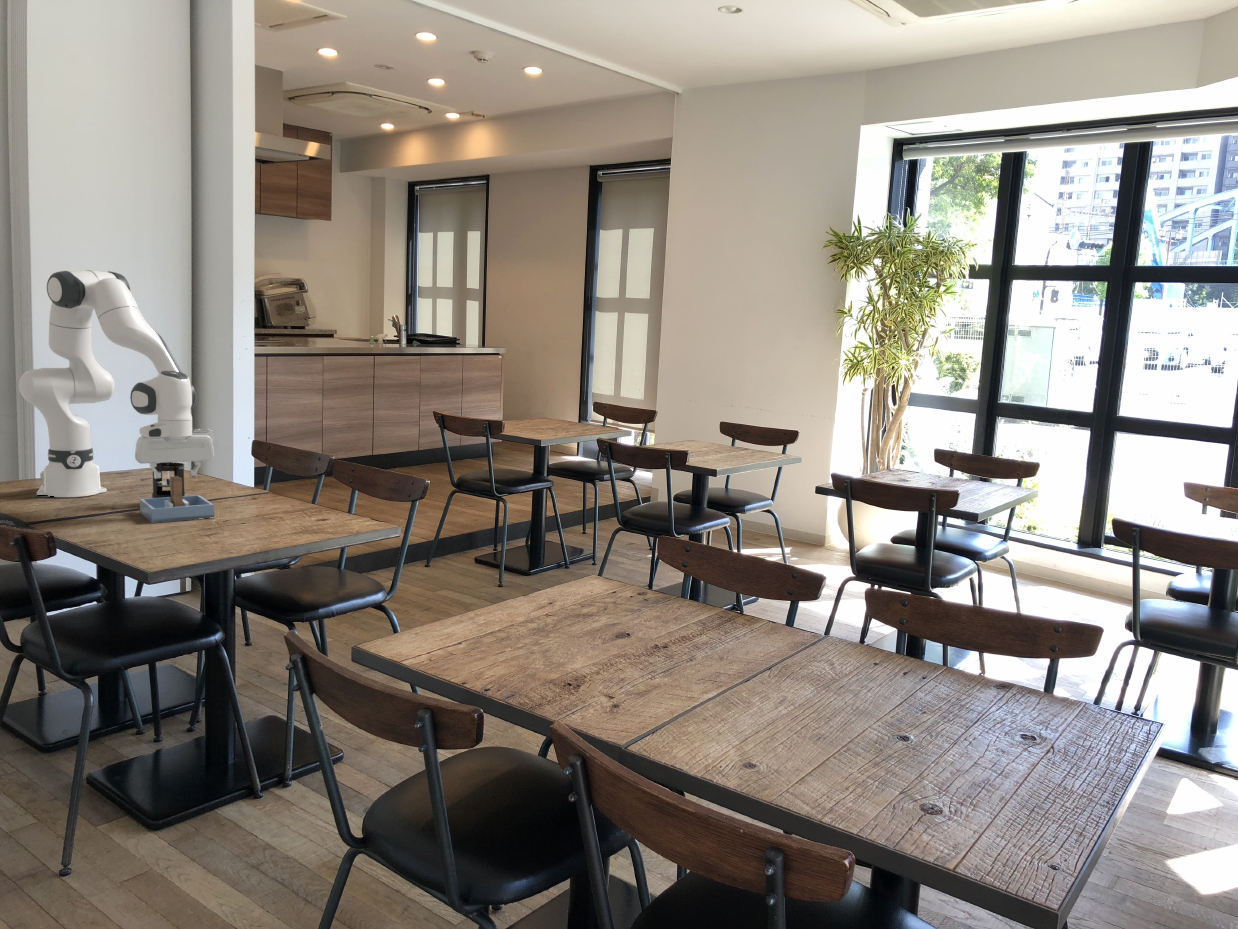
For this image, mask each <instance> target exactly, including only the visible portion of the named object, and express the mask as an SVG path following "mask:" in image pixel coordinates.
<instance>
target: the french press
mask: <svg viewBox="0 0 1238 929" xmlns="http://www.w3.org/2000/svg"><path fill="white" fill-rule="evenodd" d="M150 469H151V468H150ZM155 469H156V470H157V472H161V478H160V479H155V478H154V472H153V470H152V469H151V471H152V492H151V498H162V497H171V491H170V489H169V490H168V489H167V490H163V488H170V474H169V473H170V472H173V473H174V474H173V476H178V477H180V478H182V496H186V492H185V463H183V462H166V463H157V466H156V467H155ZM163 472H167V473H166V474H167V478H166V480H163Z"/></svg>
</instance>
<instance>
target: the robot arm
mask: <svg viewBox="0 0 1238 929" xmlns="http://www.w3.org/2000/svg"><path fill="white" fill-rule="evenodd" d="M46 292H47V295H48V298H49V299H50V301H51V305H50V312H49V320H48V321H49V322H48V346H49V349H50V350H51V351H52V352H53V353H54V354H56V355H57V356H59V357H61V358H63V359H64V360H65V359H66V360H68V364H69V366H68V367H43V368H42V367H41V368H34V369H29V370H26V371H25V372H24V373H23V374H22V375H21V376H20V379H19V382H18V390H19V393H20V394H21V395H20V396H22V397H23V399H24V400H25V401H27V403H29V404H31V405H32V406H34V407H35V408H37V410H38V411H39V412H40V414H42V416H43V417H44V420H45V422H46V426H47V432H48V442H49V444H48V445H49V448H48V450H47V451H48V452H47V461H48V464H47V465H46V466H45V468H43V470H42V471H41V472H40V474H39V475H40V476H39V478H40V481H41V480H42V482H41V485H40V487H39V489H38V490H37V491H36V496H37V495H48V496H47V497H50V496H54V497H53V498H80V497H88V496H94V495H97V494H101V493H106V492H108V491H107V488H106V487H103V486H101V476H100V474H101V473H100V467H99V465H98V464H96V463H95V462H94V449H93V447H92V437H91V436H92V435H91V434H92V433H91V431H92V430H91V426H90V423H89V421H88V420H86V419H85V418H83V417H81V416H79V415H77V414H74V413H72V411H71V410H70V407H69V406H70V405H73V404H74V405H76V404H94V403H95V404H96V403H102V402H104V401H105V402H106V401H108V400H110V399H111V398H112V397H113V395H114V393H115V389H116V384H115V380H114V377H113V376H112V374H111V373H110V372H109V371H107V370H106V369H105V368H103V367H102V366H101V365H100V364H99V363H98V361H97V359H96V358H95V355H94V351H93V341H92V339H93V338H92V335H93V334H92V332H93V312H95V314H96V317H97V320H98V322H99V325H100V328H101V330H102V332H103V334H104V336H106V338H107V339H108V340H109V341H110V342H112V343H113V344H115V345H117V346H119V347H122V348H125V349H129V350H133V351H135V352H138V353H140V354H142V355H143V356H145V357H146V358H148V359H149V360H150V361H151V363H152V364H153V366H154V367H155V369H156V371H157V372H158V374H157V376H155V377H153V378H151V379H148V380H145V381H140V382H139V381H138V382H137V383H135V385H134V386H133V387H132V389H131V390H130V397H129V398H130V404H131V406H132V407H133V410H134V411H136V412H137V413H138V414H139V415H140V414H141V415H145V416H146V415H147V416H153V415H157V422H154V423H151V424H148V425H144V426H142V427H140V428H139V434H140V436H139V437H138V438H137V440H136V442H135V443H136V444H135V452H134V454H135V455H134V458H135V460H136V462H137V463H139V464H141V465H142V464H149V467H150V469H152V470H151V471H152V473H153V472H154V478H155V479H160V478H161V472H157V470H156V469H155V467H156V466H157V463H166V462H174V463H183V462H184V463H185V462H186V463H187V462H189V463H190V462H193V463H194V464H193V465H194V467H193V468H192V469H190V470H189V475H190V477H191V478H195V477H197V476H198V471H199V469H200V467H201V466H202V462H207V461H209V462H210V461H213V460H214V458H215V451H214V450H215V449H214V441H215V433H214V431H213V430H211V429H209V428H193V416H192V410H193V409H194V407H195V405H196V403H197V397H198V396H197V395H198V394H197V391H196V389H195V387H194V385H193V384H192V383H191V380H190V377H189V376H188V375H187V374H186V373H184V372H183V370H182V369H181V368H180V367H181V366H180V365H179V364H178V362H177V360H176V359H175V357H174V355H173V353H172V351H171V350H170V348H169V346H168V345H167V343H166V342H165V340H164V338H163V337H162V336H161V334H160V333H158V332H157V331H155V330H154V329H153V328H152V326H150V325H149V323H148V322H147V321H146V319H145V318H144V316H143V314H142V312H141V310H140V307H139V306H138V303H137V300H136V299H135V298H134V295H133V294H132V293H131V286H130V283H129V282H128V280H127V278H126V277H125V276H124V275H122V274H121V273H117V272H114V271H110V270H109V271H101V270H95V269H94V270H93V269H86V270H71V271H68V270H61V271H56V272H54V273H52V274H50V276H49V278H48V280H47V282H46Z"/></svg>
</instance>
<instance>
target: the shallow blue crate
mask: <svg viewBox="0 0 1238 929" xmlns="http://www.w3.org/2000/svg"><path fill="white" fill-rule="evenodd" d="M182 503H183V506H180V507H173V504H172V503H171V497H162V498H152V497H150V498H149V497H148V498H139V513H140V514H141V515H142V516H143V517H145V519H146V520H148V521H149V522H150V523H151V522H152V523H151V524H158V523H157V522H164V523H173V521H176V522H183V521H182V520H188V521H193V520H192V519H199V518H210V517H214V518H215V504H214V503H212V502H211V501H209V500H207V499H206V498H205V497H203V496H202V495H200V494H197V495H196V494H195V495H194V494H193V495H185V496H182Z"/></svg>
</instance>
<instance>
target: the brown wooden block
mask: <svg viewBox="0 0 1238 929" xmlns="http://www.w3.org/2000/svg"><path fill="white" fill-rule="evenodd" d="M169 479H170V487H169V488H170V489H169V490H170V491H171V503H172V504H173V507H180V506H183V503H182V478H180V477H178V476H174V475H173V476H170V475H169Z"/></svg>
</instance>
